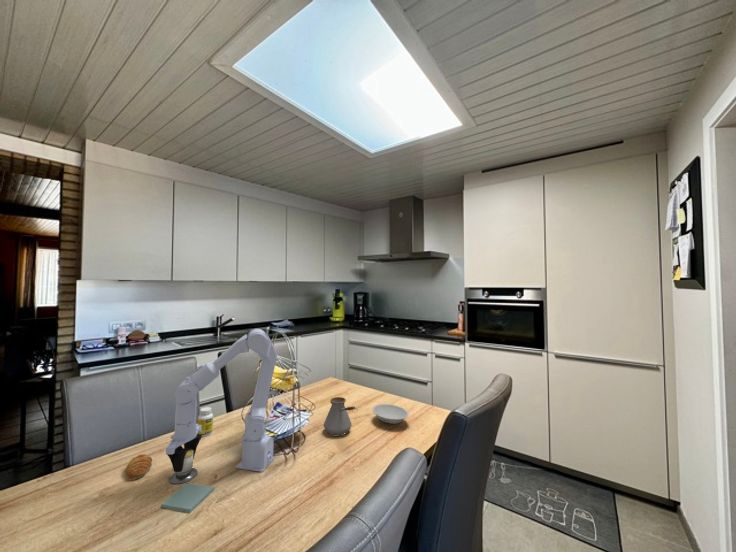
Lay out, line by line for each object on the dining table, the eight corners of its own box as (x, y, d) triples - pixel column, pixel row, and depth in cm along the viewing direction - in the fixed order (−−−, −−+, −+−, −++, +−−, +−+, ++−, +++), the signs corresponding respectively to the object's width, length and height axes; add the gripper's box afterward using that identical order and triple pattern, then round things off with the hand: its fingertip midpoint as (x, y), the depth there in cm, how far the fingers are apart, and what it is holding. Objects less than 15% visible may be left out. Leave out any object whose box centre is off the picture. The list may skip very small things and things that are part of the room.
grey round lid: (203, 470, 96) (203, 462, 96) (184, 486, 88) (184, 477, 88) (182, 467, 97) (182, 459, 97) (162, 482, 90) (162, 473, 90)
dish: (416, 425, 130) (416, 413, 130) (391, 435, 121) (391, 422, 122) (389, 412, 144) (389, 401, 144) (365, 419, 135) (365, 408, 136)
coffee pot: (319, 428, 126) (320, 392, 126) (344, 423, 131) (345, 388, 132) (340, 453, 107) (340, 410, 108) (368, 445, 113) (368, 405, 113)
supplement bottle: (205, 438, 116) (206, 412, 117) (193, 436, 118) (194, 410, 118) (215, 431, 122) (216, 407, 122) (203, 430, 123) (204, 405, 123)
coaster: (214, 490, 87) (214, 487, 87) (190, 512, 78) (190, 509, 78) (187, 485, 88) (187, 482, 88) (160, 507, 80) (160, 504, 80)
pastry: (150, 477, 92) (151, 464, 93) (122, 485, 89) (123, 471, 89) (152, 462, 100) (152, 450, 100) (126, 468, 97) (127, 456, 97)
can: (196, 464, 95) (197, 449, 95) (184, 473, 90) (185, 458, 90) (183, 462, 96) (183, 448, 96) (170, 471, 91) (171, 456, 91)
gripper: (187, 411, 101) (185, 452, 100) (156, 431, 86) (154, 480, 86) (208, 411, 101) (206, 453, 100) (180, 432, 86) (178, 480, 86)
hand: (183, 465), depth 93 cm, fingers open, 5 cm apart
